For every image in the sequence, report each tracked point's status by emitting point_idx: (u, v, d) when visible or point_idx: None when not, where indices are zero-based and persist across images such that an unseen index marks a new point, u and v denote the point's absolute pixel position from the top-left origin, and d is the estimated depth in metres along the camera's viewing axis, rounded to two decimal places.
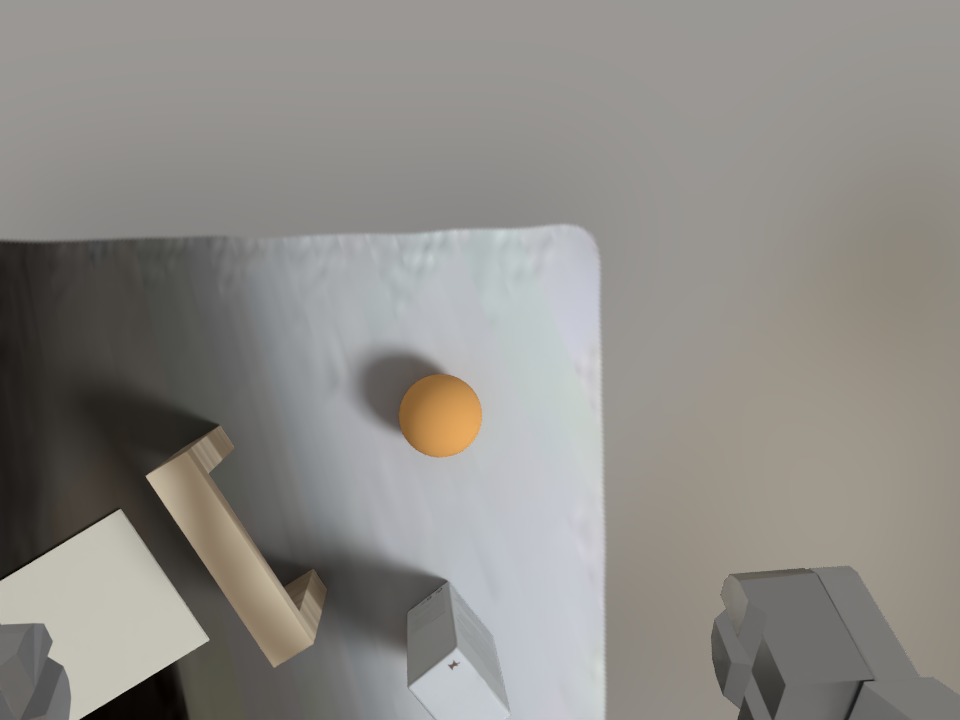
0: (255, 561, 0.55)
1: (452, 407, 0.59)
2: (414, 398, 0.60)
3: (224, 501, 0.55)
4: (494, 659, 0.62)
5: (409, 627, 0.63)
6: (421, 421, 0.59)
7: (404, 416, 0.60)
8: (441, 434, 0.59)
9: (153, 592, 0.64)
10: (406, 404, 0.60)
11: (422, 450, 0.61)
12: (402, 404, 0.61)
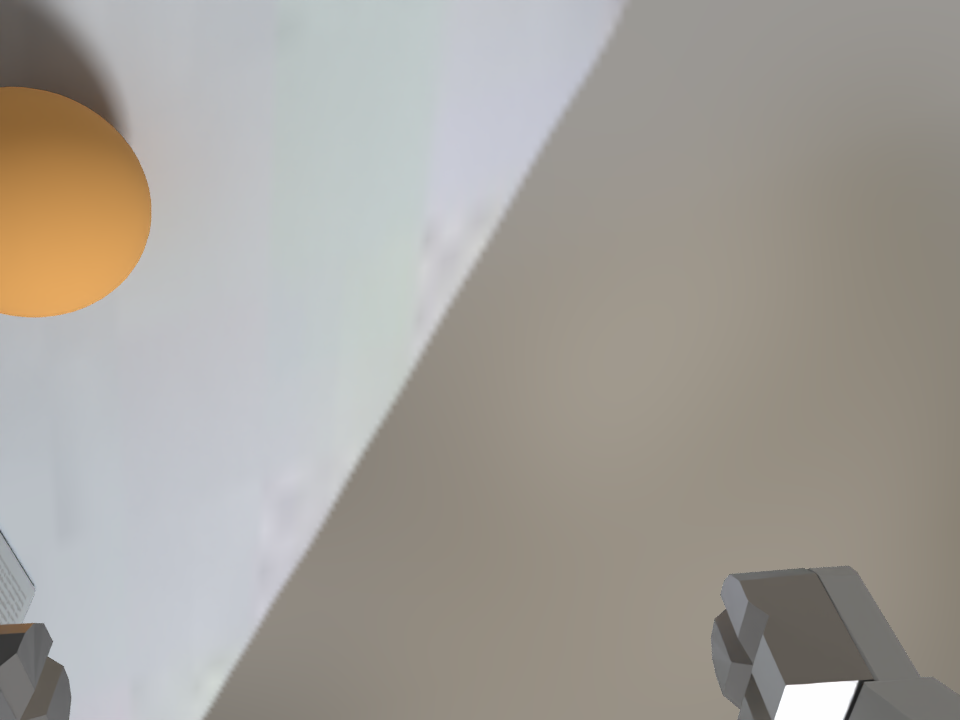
0: None
1: (34, 229, 0.20)
2: None
3: None
4: None
5: None
6: None
7: None
8: None
9: None
10: None
11: None
12: None
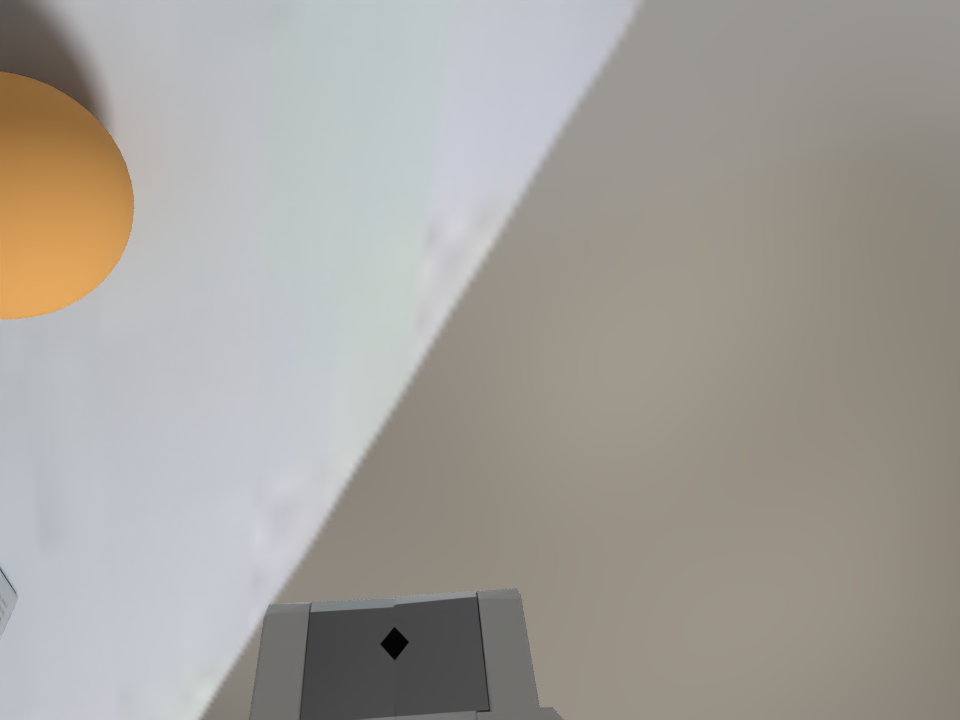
0: None
1: (2, 226, 0.19)
2: None
3: None
4: None
5: None
6: None
7: None
8: None
9: None
10: None
11: None
12: None
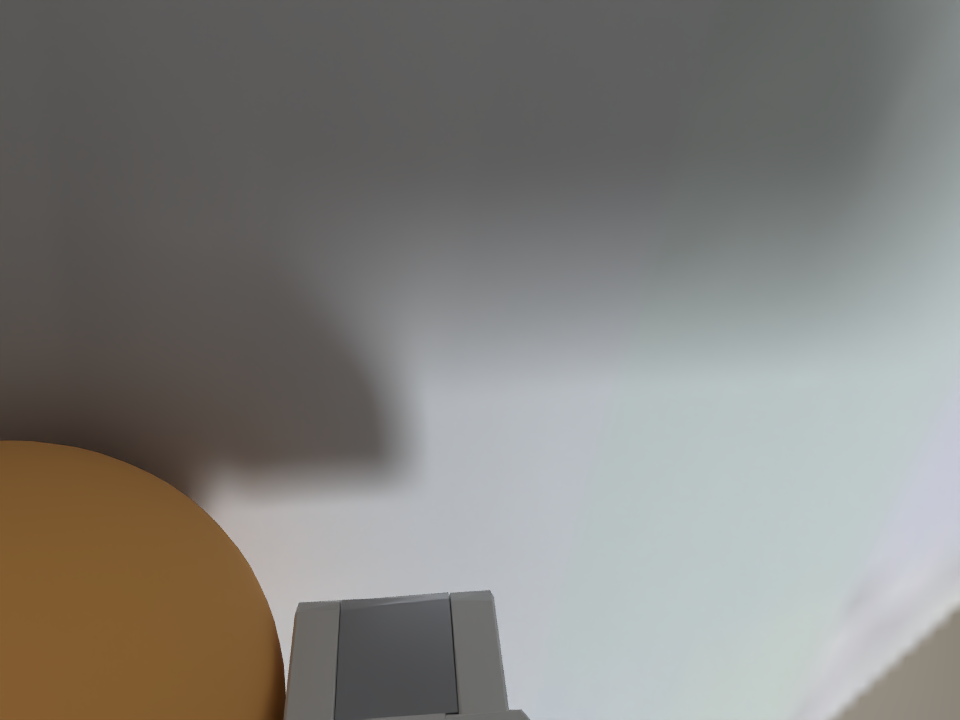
0: None
1: None
2: None
3: None
4: None
5: None
6: None
7: None
8: None
9: None
10: None
11: None
12: None
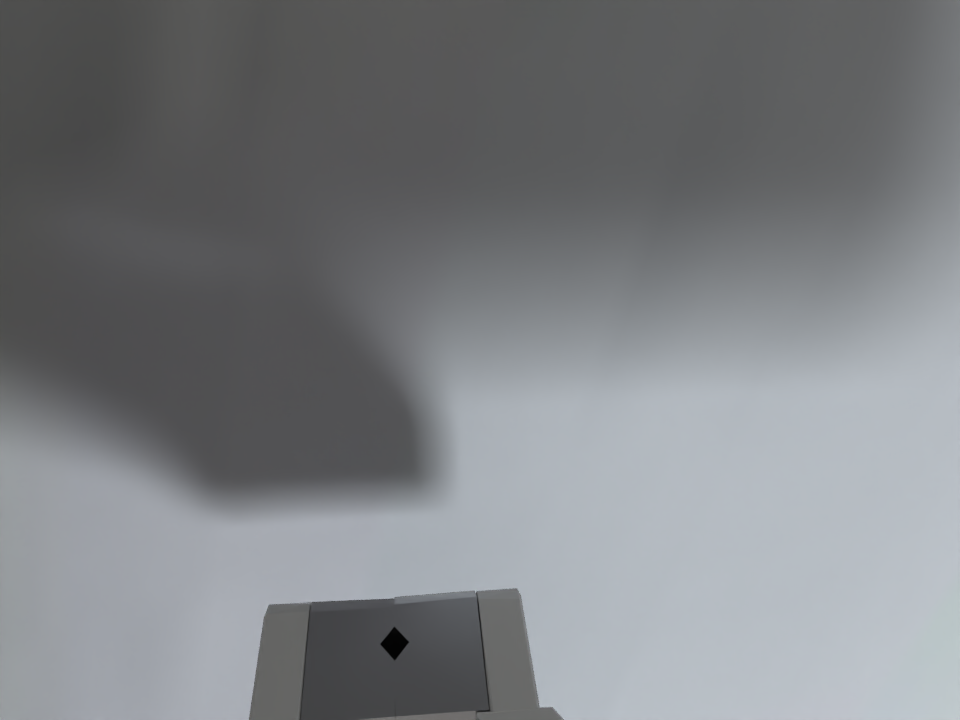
0: None
1: None
2: None
3: None
4: None
5: None
6: None
7: None
8: None
9: None
10: None
11: None
12: None
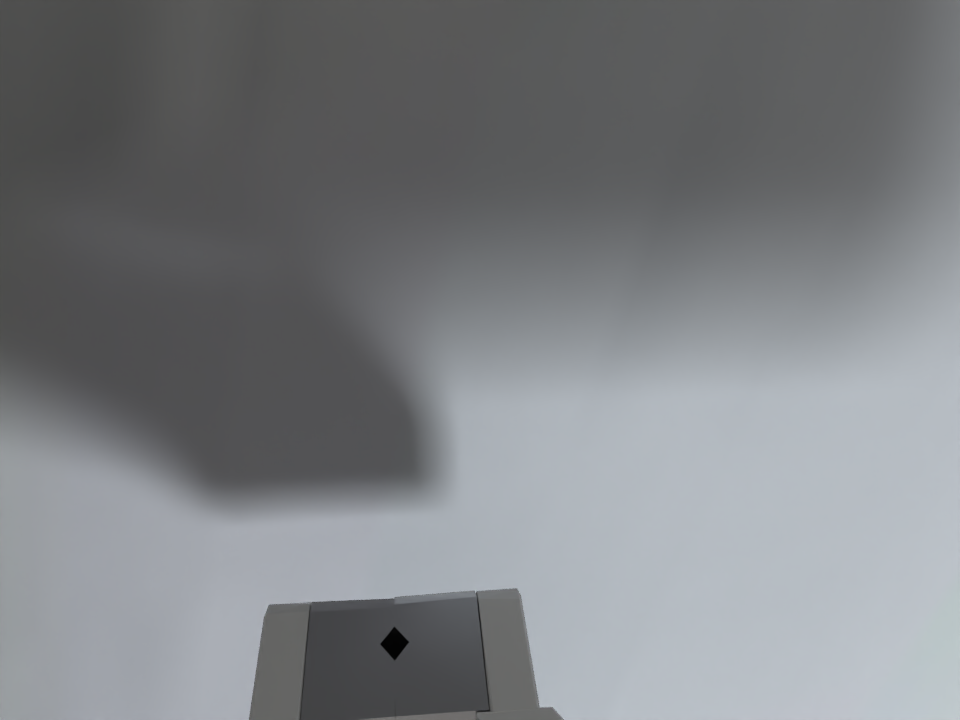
0: None
1: None
2: None
3: None
4: None
5: None
6: None
7: None
8: None
9: None
10: None
11: None
12: None
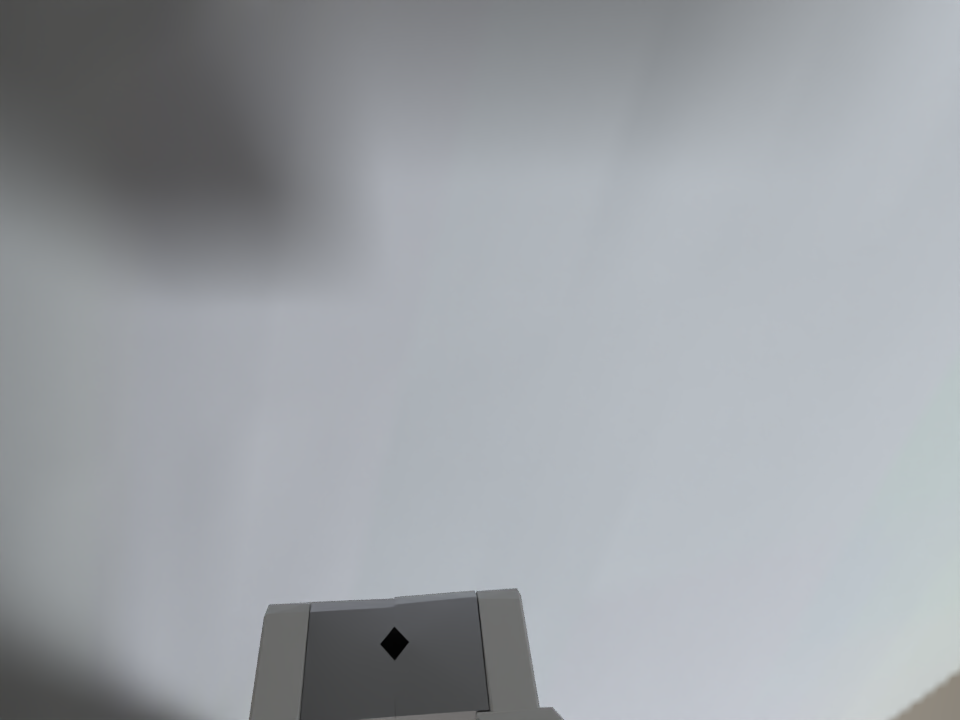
0: None
1: None
2: None
3: None
4: None
5: None
6: None
7: None
8: None
9: None
10: None
11: None
12: None
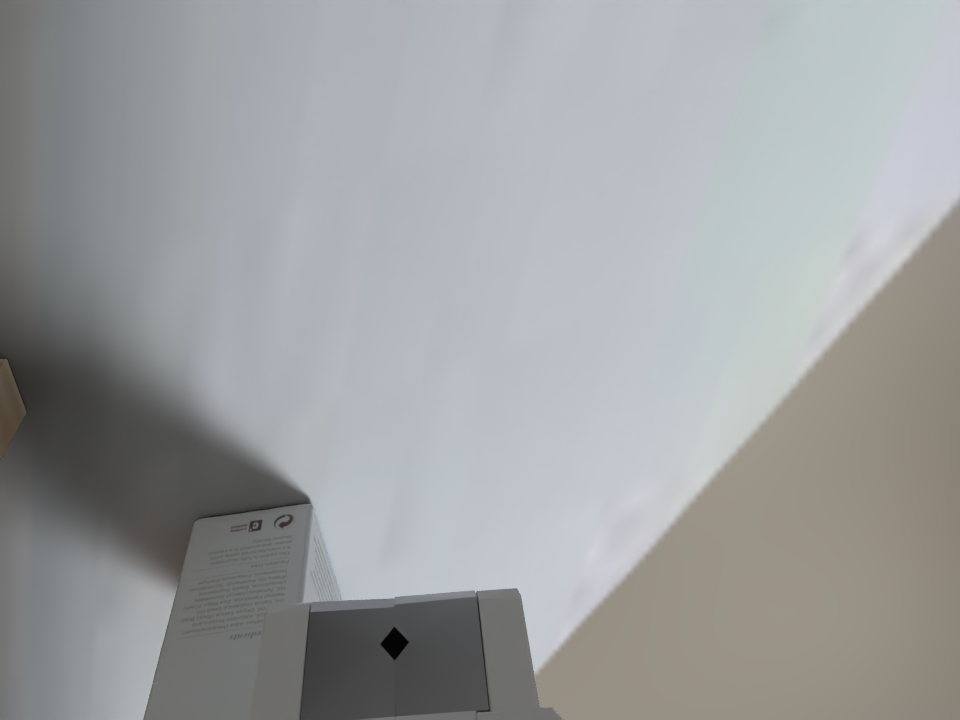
0: None
1: None
2: None
3: None
4: None
5: (183, 592, 0.27)
6: None
7: None
8: None
9: None
10: None
11: None
12: None
